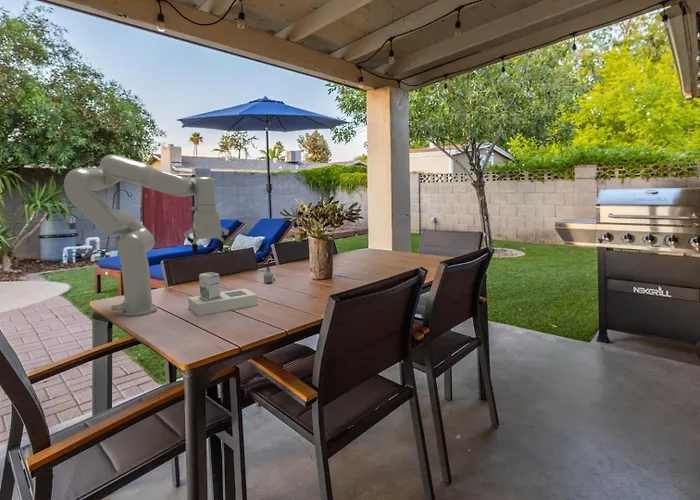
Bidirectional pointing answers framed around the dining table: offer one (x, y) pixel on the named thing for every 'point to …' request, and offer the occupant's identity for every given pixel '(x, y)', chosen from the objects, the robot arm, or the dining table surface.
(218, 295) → the syrup box
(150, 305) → the robot arm
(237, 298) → the caddy
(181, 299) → the dining table surface
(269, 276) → the reed diffuser
